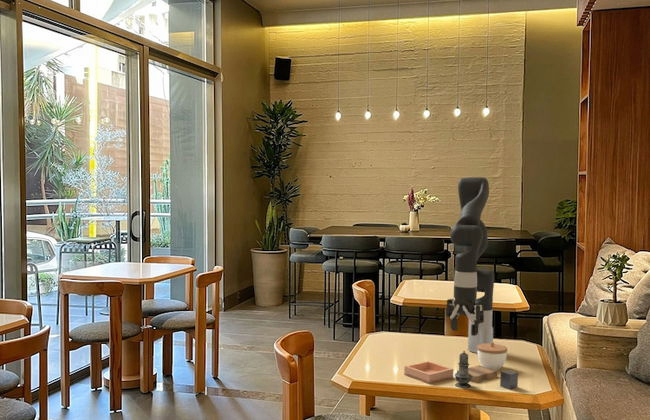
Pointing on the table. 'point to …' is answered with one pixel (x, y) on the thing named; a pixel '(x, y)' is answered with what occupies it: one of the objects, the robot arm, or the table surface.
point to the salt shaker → (463, 372)
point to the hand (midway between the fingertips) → (464, 332)
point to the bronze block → (481, 373)
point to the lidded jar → (492, 355)
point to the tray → (428, 371)
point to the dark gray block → (509, 379)
